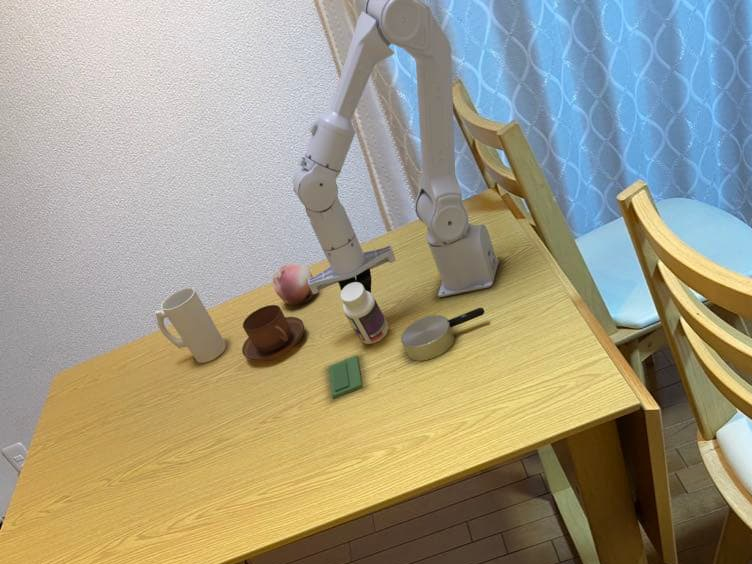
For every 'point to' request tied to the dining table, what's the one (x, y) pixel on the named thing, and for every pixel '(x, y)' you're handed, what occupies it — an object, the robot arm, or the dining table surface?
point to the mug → (191, 325)
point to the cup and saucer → (270, 333)
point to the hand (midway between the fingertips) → (370, 312)
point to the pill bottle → (363, 313)
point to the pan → (433, 335)
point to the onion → (293, 284)
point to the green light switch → (345, 377)
